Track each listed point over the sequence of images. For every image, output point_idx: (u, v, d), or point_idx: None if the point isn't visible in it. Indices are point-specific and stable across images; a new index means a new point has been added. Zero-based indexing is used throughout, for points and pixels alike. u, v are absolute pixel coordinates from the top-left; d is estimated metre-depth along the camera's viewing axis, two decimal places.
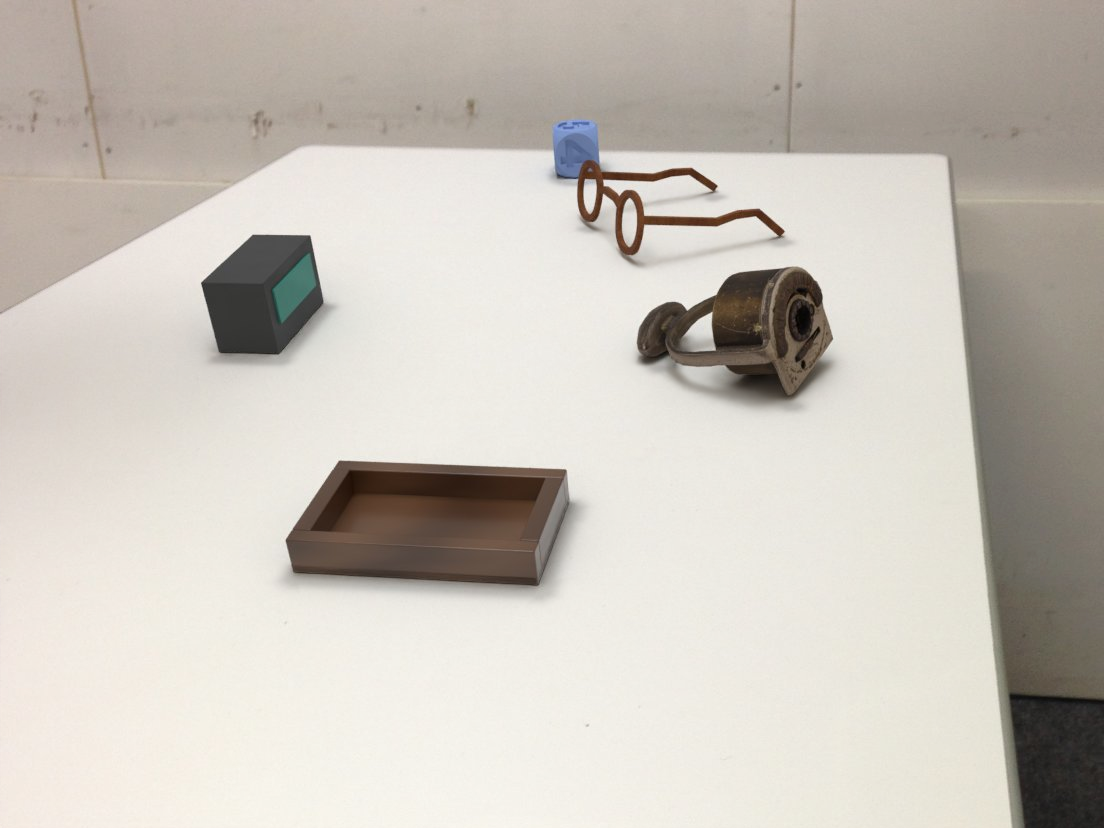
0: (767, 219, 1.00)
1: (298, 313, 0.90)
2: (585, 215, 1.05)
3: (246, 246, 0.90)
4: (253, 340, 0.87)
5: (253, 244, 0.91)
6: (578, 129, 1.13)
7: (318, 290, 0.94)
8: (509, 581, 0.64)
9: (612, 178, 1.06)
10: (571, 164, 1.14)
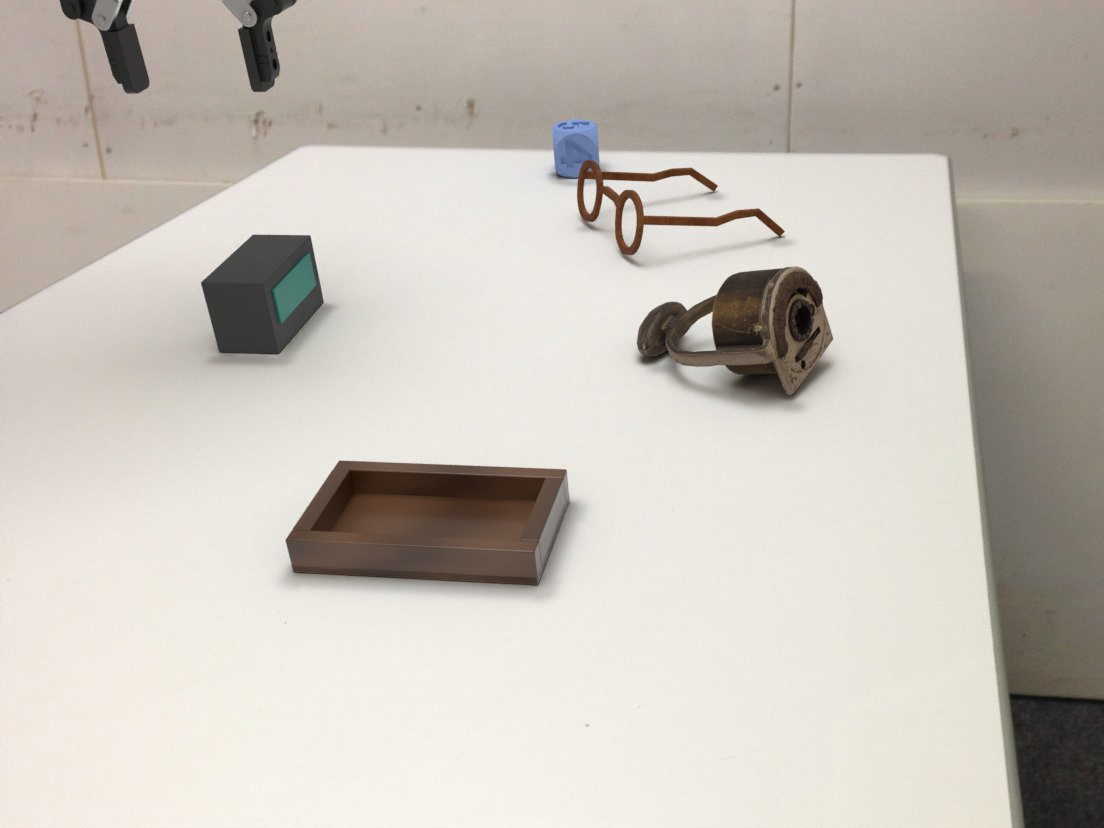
0: (767, 219, 1.00)
1: (298, 313, 0.90)
2: (585, 215, 1.05)
3: (246, 246, 0.90)
4: (253, 340, 0.87)
5: (253, 244, 0.91)
6: (578, 129, 1.13)
7: (318, 290, 0.94)
8: (509, 581, 0.64)
9: (612, 178, 1.06)
10: (571, 164, 1.14)
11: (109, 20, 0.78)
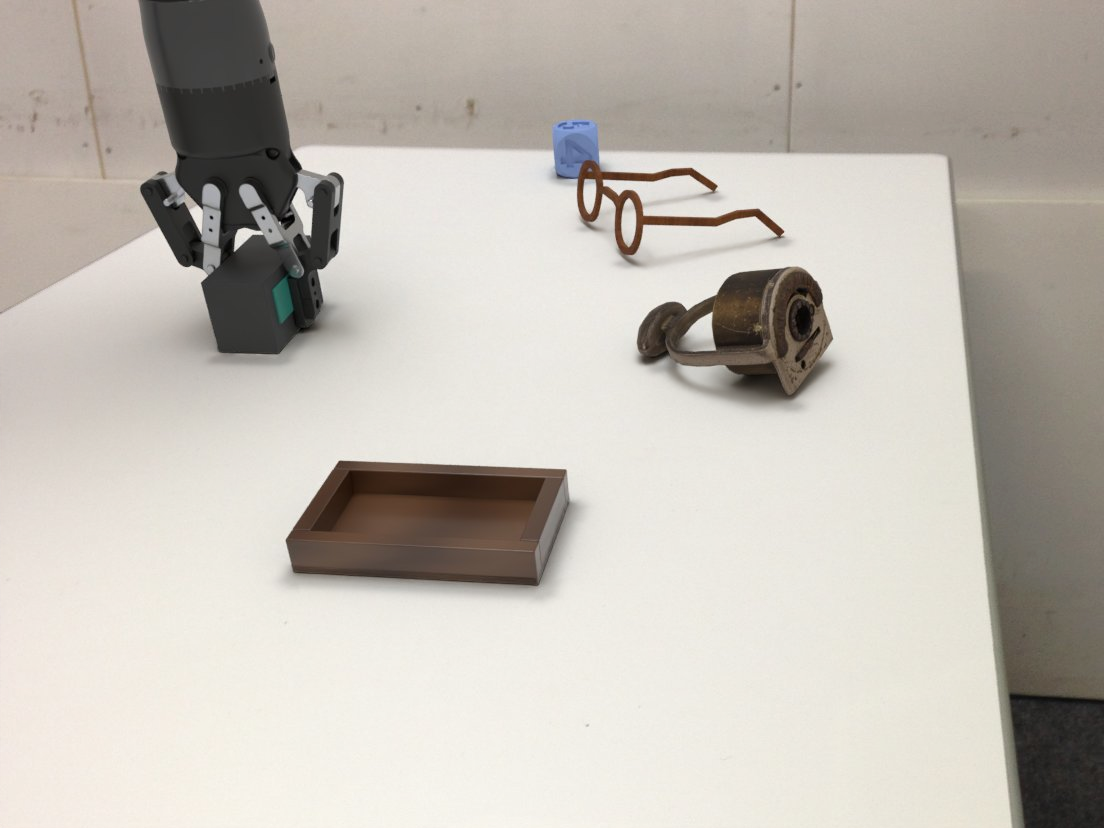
0: (766, 219, 1.00)
1: None
2: (585, 215, 1.05)
3: (246, 246, 0.90)
4: (253, 340, 0.87)
5: (253, 244, 0.91)
6: (578, 129, 1.13)
7: None
8: (509, 581, 0.64)
9: (612, 178, 1.06)
10: (571, 164, 1.14)
11: (217, 266, 0.88)
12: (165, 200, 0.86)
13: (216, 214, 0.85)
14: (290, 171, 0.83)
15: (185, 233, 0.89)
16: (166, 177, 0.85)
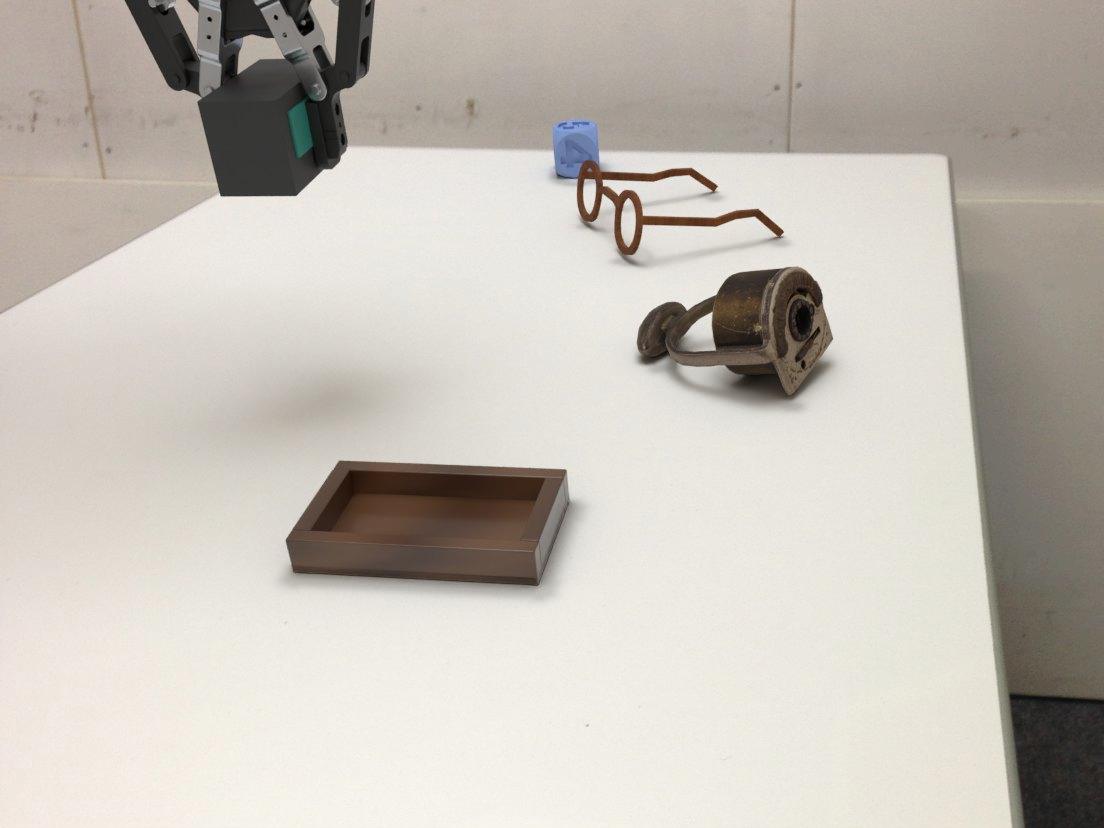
0: (766, 219, 1.00)
1: None
2: (584, 215, 1.05)
3: (252, 69, 0.72)
4: (264, 179, 0.69)
5: (261, 67, 0.73)
6: (578, 129, 1.13)
7: None
8: (509, 581, 0.64)
9: (612, 178, 1.06)
10: (571, 164, 1.14)
11: None
12: None
13: (216, 14, 0.67)
14: None
15: (176, 50, 0.71)
16: None
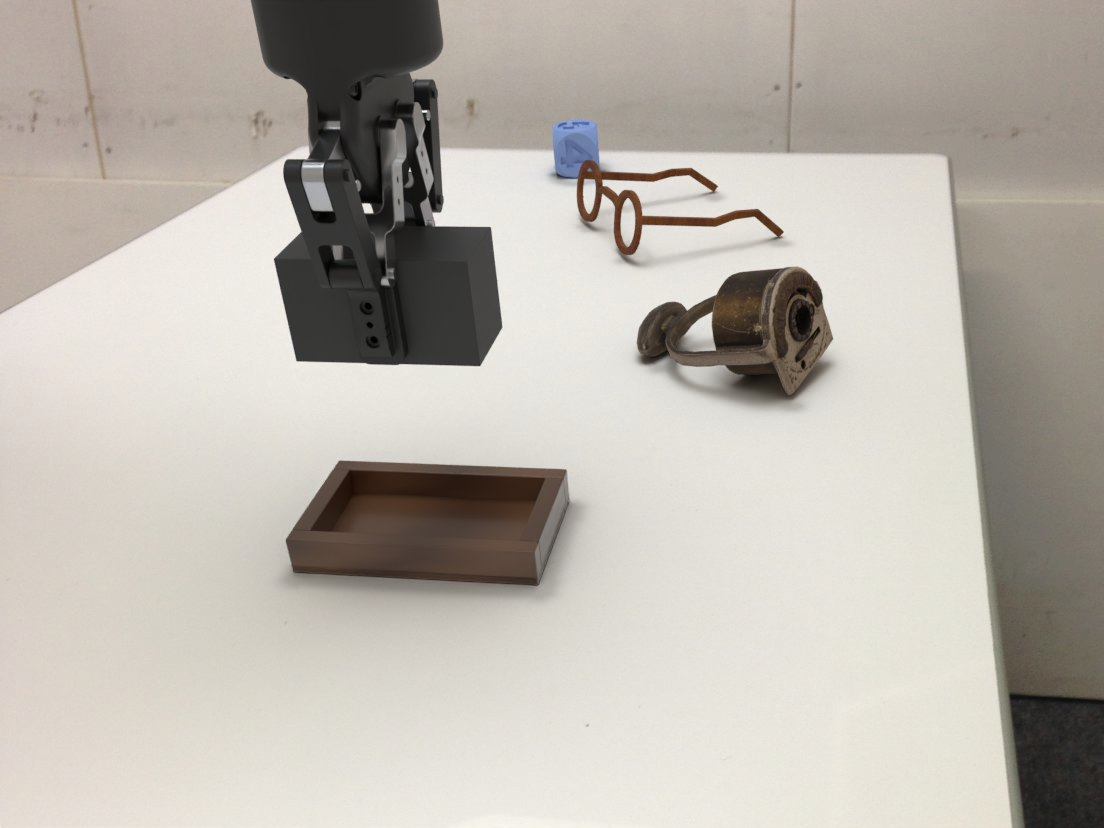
0: (766, 219, 1.00)
1: None
2: (584, 215, 1.05)
3: None
4: (492, 323, 0.61)
5: None
6: (578, 129, 1.13)
7: None
8: (509, 581, 0.64)
9: (612, 178, 1.06)
10: (571, 164, 1.14)
11: (394, 266, 0.57)
12: (357, 181, 0.52)
13: (400, 171, 0.55)
14: None
15: (324, 254, 0.54)
16: (334, 149, 0.51)
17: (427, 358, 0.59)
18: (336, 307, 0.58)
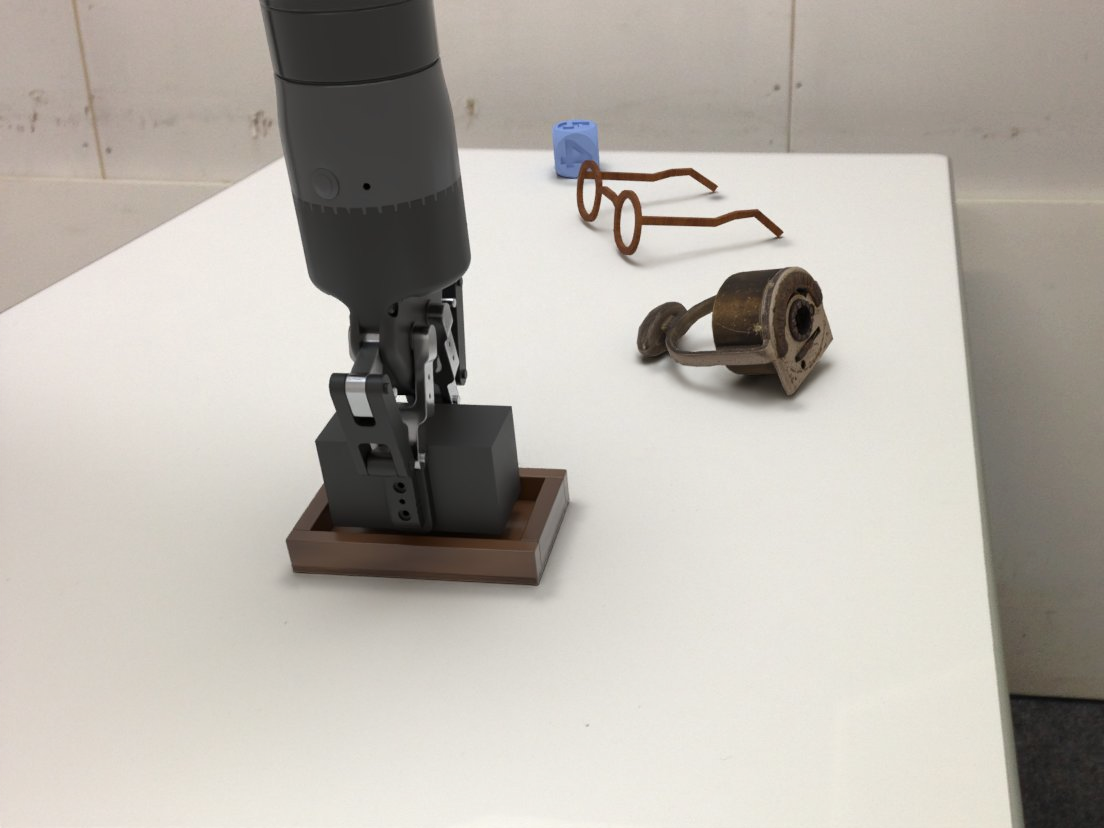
0: (766, 220, 0.99)
1: None
2: (584, 215, 1.05)
3: None
4: (512, 490, 0.66)
5: None
6: (578, 129, 1.13)
7: None
8: (509, 581, 0.64)
9: (611, 178, 1.06)
10: (571, 164, 1.14)
11: (425, 450, 0.62)
12: (395, 389, 0.57)
13: (431, 369, 0.61)
14: None
15: (363, 448, 0.59)
16: (374, 362, 0.57)
17: (454, 526, 0.65)
18: (370, 482, 0.64)
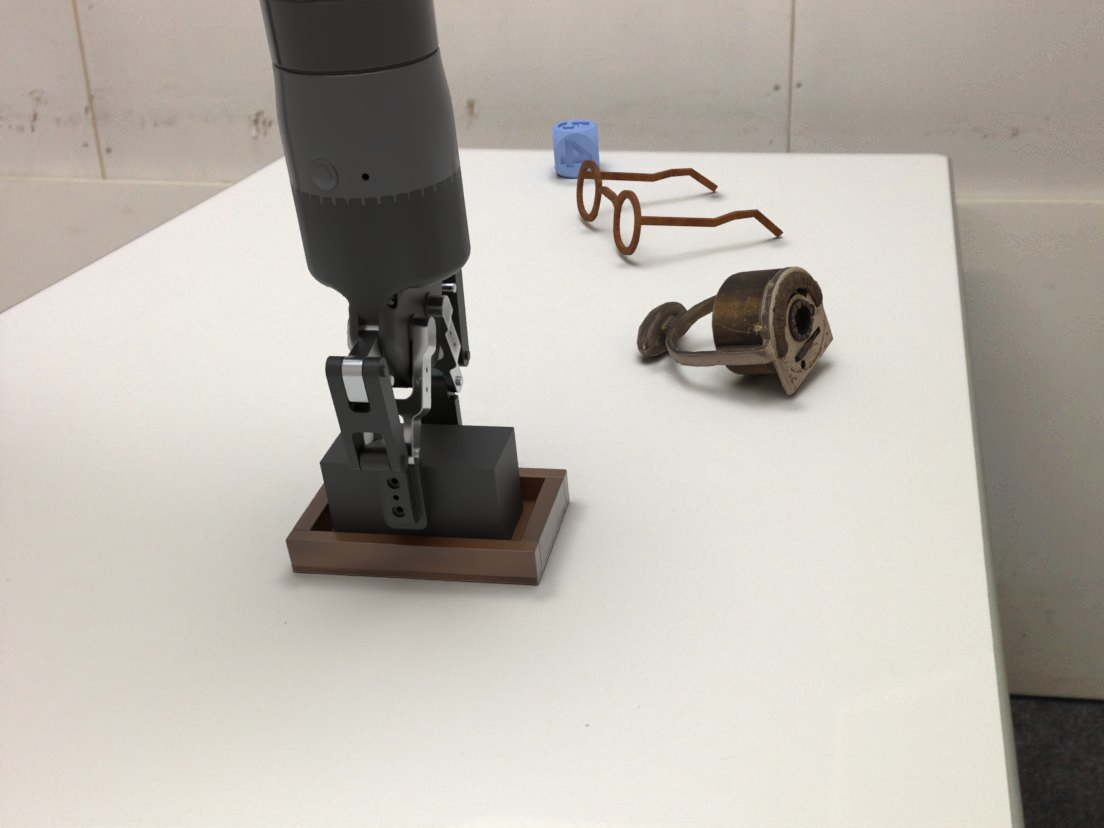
0: (765, 220, 0.99)
1: None
2: (584, 215, 1.05)
3: None
4: (515, 510, 0.67)
5: None
6: (578, 129, 1.13)
7: None
8: (509, 581, 0.64)
9: (611, 178, 1.06)
10: (571, 164, 1.14)
11: (419, 446, 0.61)
12: (391, 376, 0.57)
13: (429, 362, 0.60)
14: None
15: (356, 440, 0.58)
16: (373, 348, 0.56)
17: None
18: (374, 503, 0.65)
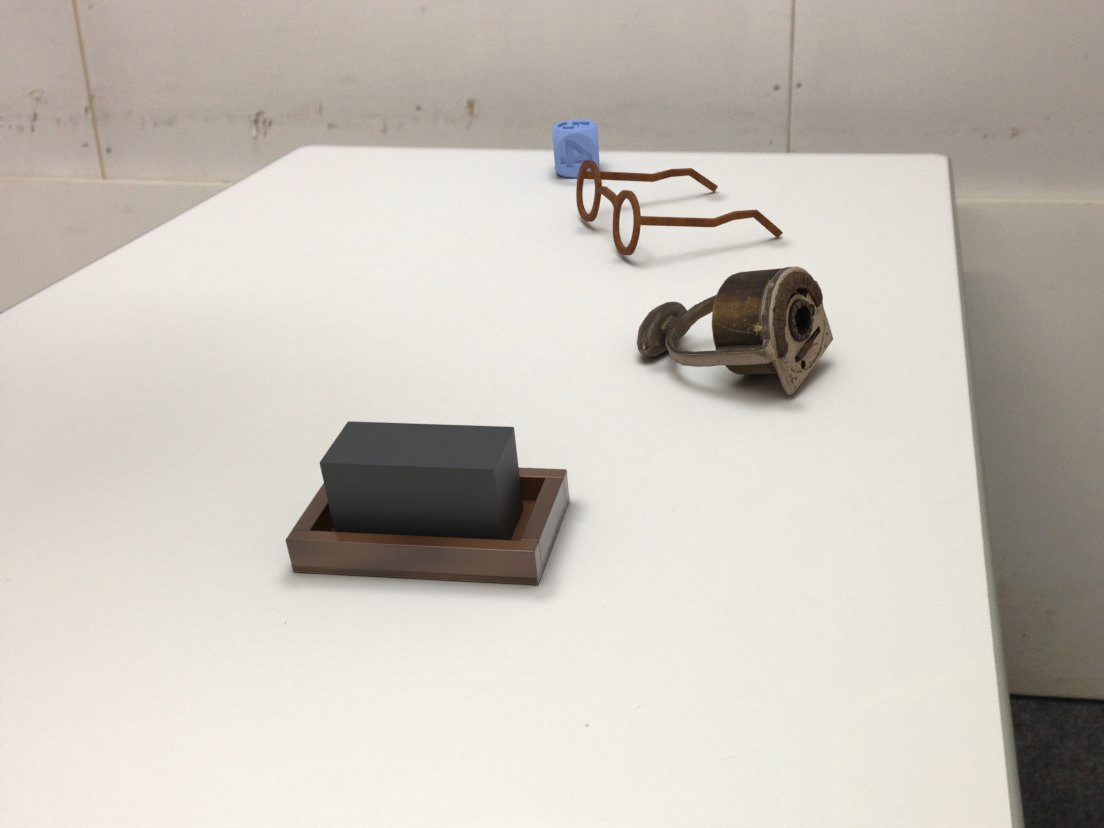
0: (765, 220, 0.99)
1: None
2: (584, 215, 1.05)
3: (366, 459, 0.64)
4: (515, 510, 0.67)
5: (363, 454, 0.64)
6: (578, 129, 1.13)
7: None
8: (509, 581, 0.64)
9: (611, 178, 1.06)
10: (571, 164, 1.14)
11: None
12: None
13: None
14: None
15: None
16: None
17: None
18: (374, 503, 0.65)
